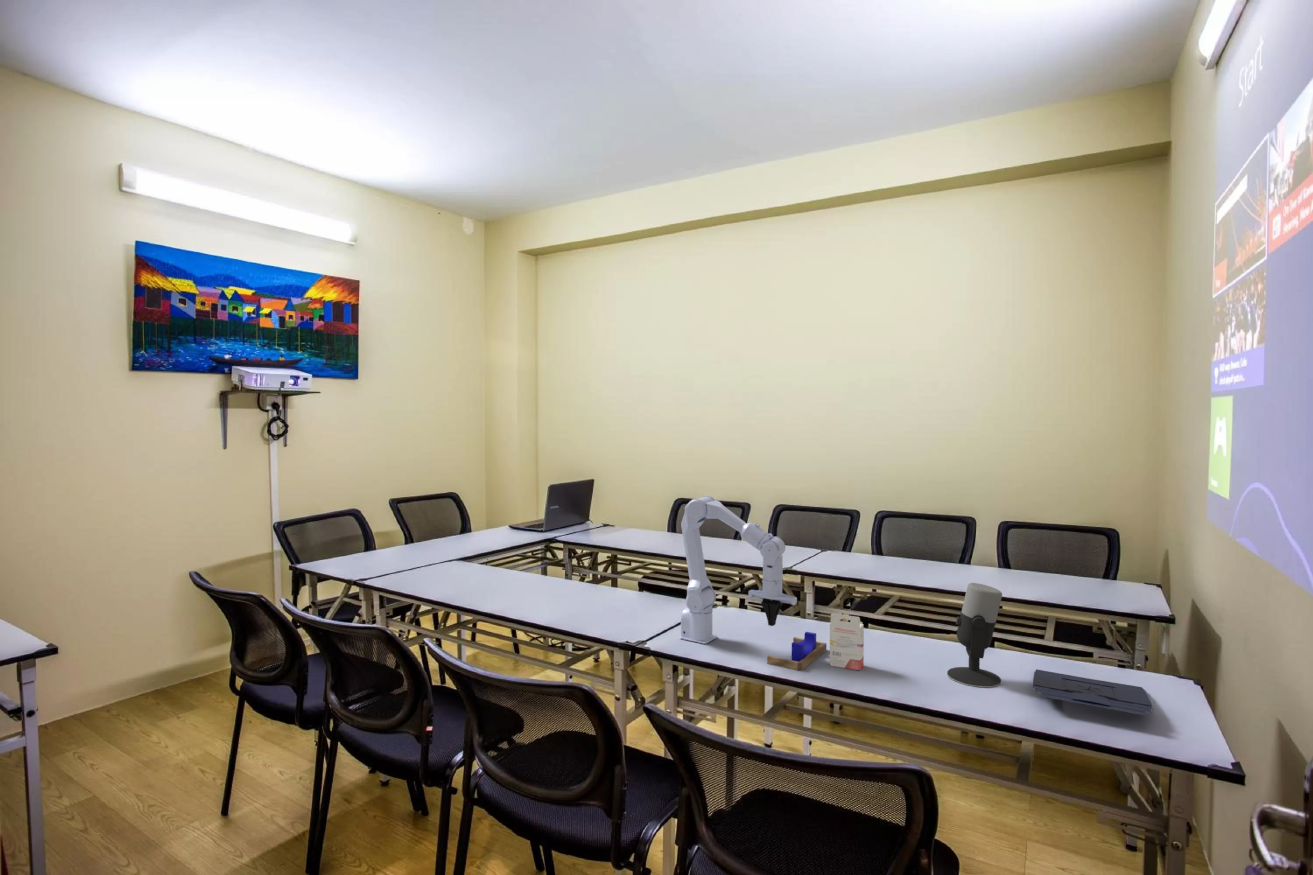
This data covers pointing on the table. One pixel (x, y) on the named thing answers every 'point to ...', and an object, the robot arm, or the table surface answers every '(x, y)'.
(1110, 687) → the grooved grey slab
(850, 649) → the ink cartridge box
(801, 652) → the blue curved bracket
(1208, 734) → the table surface
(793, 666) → the frame
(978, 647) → the microphone
